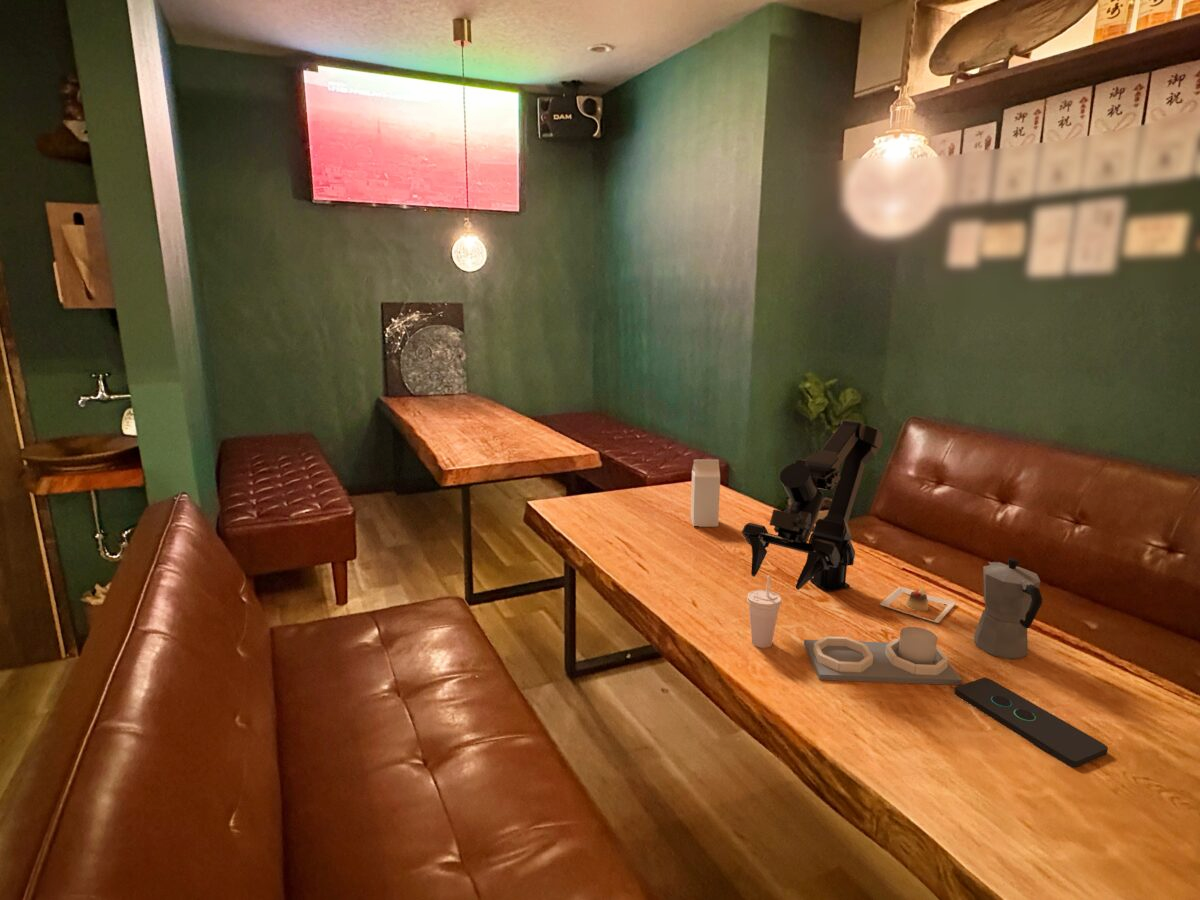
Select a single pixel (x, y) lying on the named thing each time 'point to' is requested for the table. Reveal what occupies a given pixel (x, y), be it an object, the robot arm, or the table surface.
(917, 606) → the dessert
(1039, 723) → the smart home device
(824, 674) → the board
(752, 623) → the smoothie
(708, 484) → the milk carton
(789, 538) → the robot arm
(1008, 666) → the table surface
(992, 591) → the coffeepot
